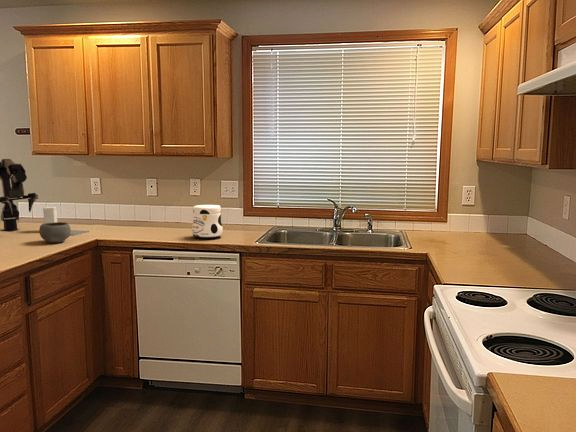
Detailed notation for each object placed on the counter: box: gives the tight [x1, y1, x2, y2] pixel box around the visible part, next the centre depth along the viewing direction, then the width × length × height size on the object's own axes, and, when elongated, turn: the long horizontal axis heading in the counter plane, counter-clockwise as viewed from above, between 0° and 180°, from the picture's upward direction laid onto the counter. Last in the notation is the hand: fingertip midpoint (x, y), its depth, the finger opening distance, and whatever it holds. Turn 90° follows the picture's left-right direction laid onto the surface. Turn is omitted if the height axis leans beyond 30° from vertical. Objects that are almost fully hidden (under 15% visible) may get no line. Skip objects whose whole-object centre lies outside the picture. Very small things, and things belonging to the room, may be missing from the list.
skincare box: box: [42, 206, 58, 224], centre depth 293 cm, size 8×6×15 cm
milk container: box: [191, 204, 224, 239], centre depth 281 cm, size 17×17×18 cm
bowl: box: [38, 221, 72, 244], centre depth 262 cm, size 15×15×10 cm
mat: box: [69, 229, 89, 236], centre depth 291 cm, size 16×14×1 cm
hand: (20, 213), depth 276 cm, fingers open, 9 cm apart
